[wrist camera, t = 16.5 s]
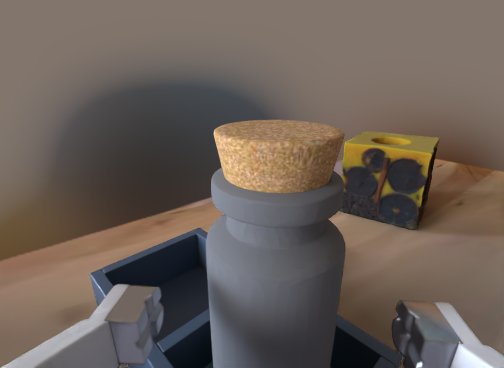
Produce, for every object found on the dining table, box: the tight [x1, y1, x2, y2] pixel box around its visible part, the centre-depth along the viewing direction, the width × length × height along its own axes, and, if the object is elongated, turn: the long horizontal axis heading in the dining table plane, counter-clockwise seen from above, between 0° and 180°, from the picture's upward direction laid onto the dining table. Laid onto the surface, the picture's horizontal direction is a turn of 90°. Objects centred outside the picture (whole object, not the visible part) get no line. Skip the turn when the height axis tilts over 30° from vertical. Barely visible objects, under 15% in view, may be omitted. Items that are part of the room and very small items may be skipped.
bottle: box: [206, 120, 345, 368], centre depth 13 cm, size 6×6×15 cm
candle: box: [339, 131, 440, 230], centre depth 39 cm, size 10×10×10 cm
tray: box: [90, 228, 402, 368], centre depth 18 cm, size 10×18×4 cm, turn 44°
